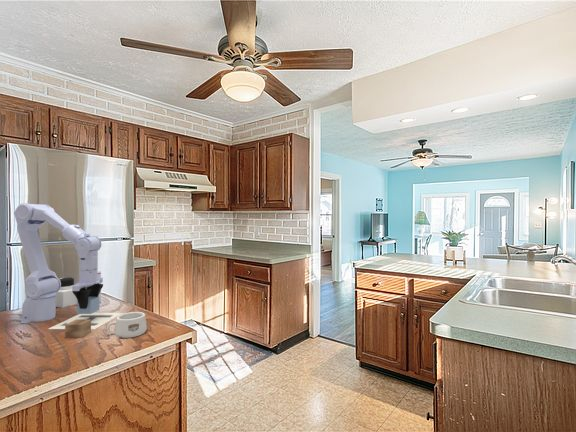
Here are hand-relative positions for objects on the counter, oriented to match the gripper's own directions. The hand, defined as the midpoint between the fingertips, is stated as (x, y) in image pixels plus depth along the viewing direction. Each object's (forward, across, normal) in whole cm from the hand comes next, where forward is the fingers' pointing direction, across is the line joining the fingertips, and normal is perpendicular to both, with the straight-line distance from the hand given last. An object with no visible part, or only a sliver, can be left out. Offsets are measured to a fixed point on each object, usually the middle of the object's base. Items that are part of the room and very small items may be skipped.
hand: (88, 306), depth 114 cm
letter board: (+6, 0, 0) cm, 6 cm away
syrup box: (+6, +24, +14) cm, 28 cm away
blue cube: (+2, 0, 0) cm, 2 cm away
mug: (+6, -11, -20) cm, 24 cm away
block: (+6, -14, -6) cm, 16 cm away
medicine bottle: (+6, +22, +24) cm, 33 cm away
